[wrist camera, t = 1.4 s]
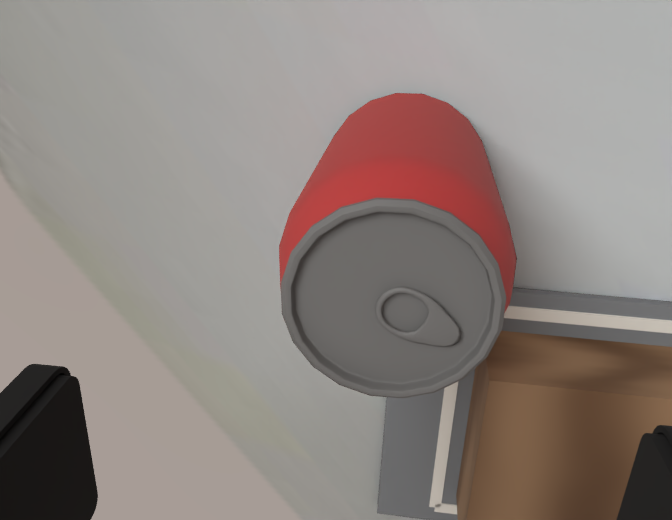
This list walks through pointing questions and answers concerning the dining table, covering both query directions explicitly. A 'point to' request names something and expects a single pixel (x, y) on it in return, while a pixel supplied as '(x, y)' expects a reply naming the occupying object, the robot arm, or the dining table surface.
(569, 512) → the walnut base block
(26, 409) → the robot arm
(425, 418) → the grey mat
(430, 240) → the beer can
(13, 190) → the dining table surface
